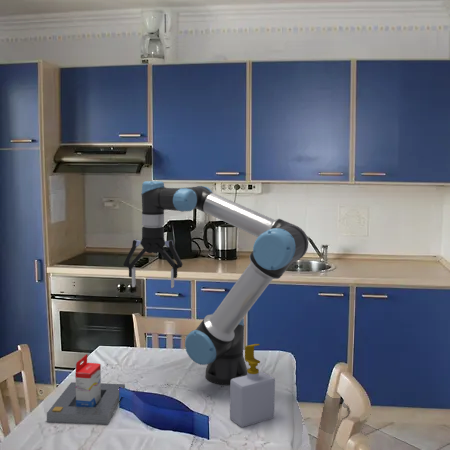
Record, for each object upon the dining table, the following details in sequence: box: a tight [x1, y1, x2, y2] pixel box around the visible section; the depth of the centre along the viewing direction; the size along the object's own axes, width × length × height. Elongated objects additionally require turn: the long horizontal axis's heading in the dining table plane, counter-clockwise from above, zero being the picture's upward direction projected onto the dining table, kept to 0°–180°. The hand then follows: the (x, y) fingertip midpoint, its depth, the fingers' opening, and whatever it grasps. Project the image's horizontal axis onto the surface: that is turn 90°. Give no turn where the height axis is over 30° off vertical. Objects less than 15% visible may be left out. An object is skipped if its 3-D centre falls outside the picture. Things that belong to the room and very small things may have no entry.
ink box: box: [74, 353, 102, 407], centre depth 170 cm, size 8×5×15 cm, turn 170°
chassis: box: [46, 381, 126, 425], centre depth 171 cm, size 18×22×3 cm
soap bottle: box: [229, 343, 276, 428], centre depth 163 cm, size 12×7×23 cm, turn 123°
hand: (153, 286), depth 191 cm, fingers open, 13 cm apart
